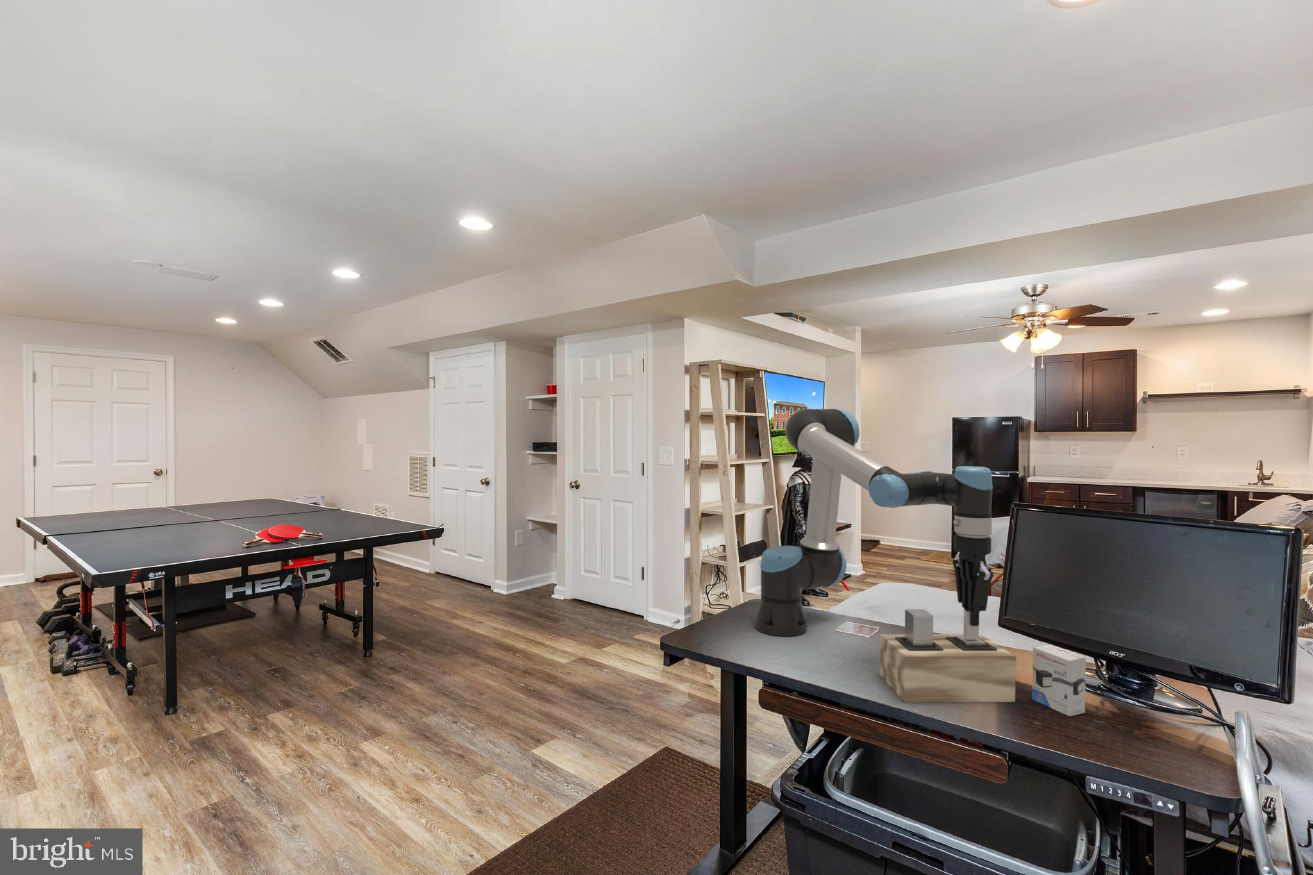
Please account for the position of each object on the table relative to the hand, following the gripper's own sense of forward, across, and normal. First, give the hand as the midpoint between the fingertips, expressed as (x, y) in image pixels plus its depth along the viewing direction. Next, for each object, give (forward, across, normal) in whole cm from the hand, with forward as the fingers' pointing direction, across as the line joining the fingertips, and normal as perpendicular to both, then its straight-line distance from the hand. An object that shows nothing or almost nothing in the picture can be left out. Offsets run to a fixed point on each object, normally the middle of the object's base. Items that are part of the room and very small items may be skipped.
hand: (971, 638), depth 137 cm
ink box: (+12, +9, +14) cm, 20 cm away
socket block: (+11, 0, -6) cm, 13 cm away
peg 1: (+3, 0, -12) cm, 12 cm away
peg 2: (+10, 0, 0) cm, 10 cm away
